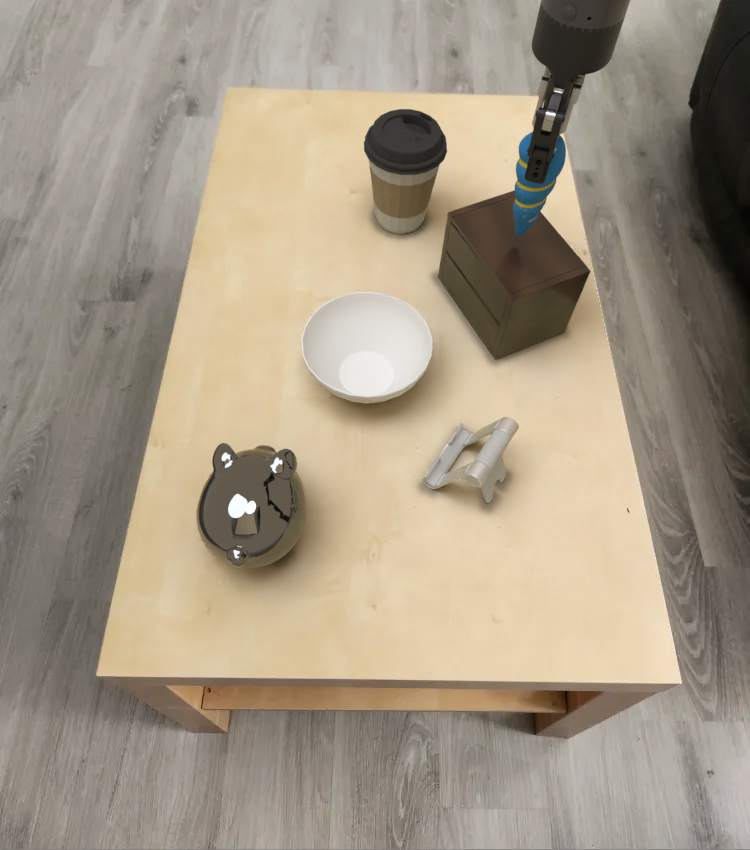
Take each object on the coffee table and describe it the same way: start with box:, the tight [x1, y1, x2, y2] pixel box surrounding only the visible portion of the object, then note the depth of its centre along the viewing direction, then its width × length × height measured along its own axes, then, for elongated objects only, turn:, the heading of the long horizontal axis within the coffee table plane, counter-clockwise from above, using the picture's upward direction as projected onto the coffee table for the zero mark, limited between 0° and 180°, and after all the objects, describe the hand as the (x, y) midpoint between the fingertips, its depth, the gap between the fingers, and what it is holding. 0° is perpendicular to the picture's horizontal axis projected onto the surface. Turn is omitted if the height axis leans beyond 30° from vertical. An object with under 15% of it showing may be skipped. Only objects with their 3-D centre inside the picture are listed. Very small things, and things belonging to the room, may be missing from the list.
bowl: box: [300, 290, 434, 404], centre depth 85 cm, size 16×16×7 cm
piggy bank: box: [196, 442, 307, 570], centre depth 72 cm, size 11×15×12 cm
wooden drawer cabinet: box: [437, 189, 591, 361], centre depth 90 cm, size 11×16×12 cm
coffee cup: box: [363, 108, 448, 235], centre depth 97 cm, size 11×11×15 cm
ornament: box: [513, 131, 567, 236], centre depth 77 cm, size 5×5×15 cm
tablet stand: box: [422, 416, 520, 504], centre depth 78 cm, size 9×8×8 cm
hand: (540, 162), depth 75 cm, fingers closed on ornament, 5 cm apart
